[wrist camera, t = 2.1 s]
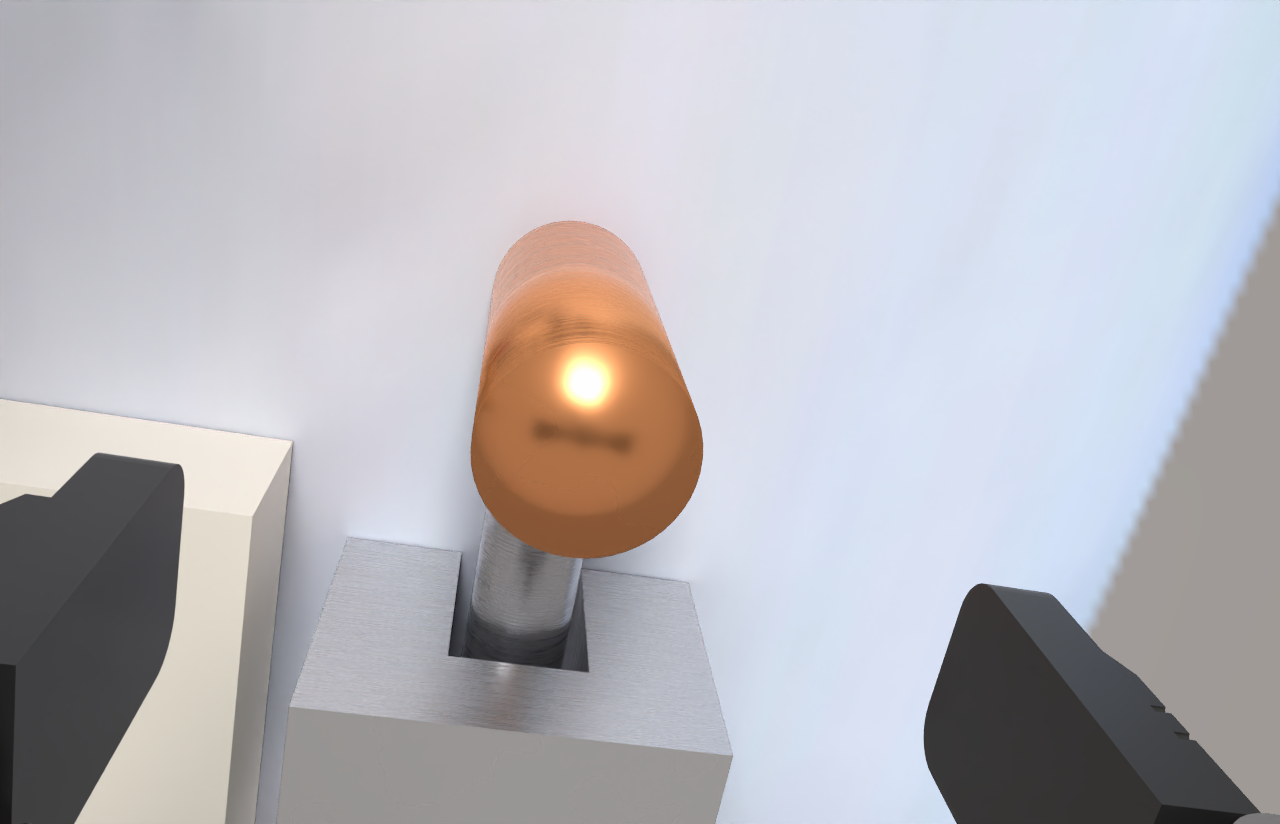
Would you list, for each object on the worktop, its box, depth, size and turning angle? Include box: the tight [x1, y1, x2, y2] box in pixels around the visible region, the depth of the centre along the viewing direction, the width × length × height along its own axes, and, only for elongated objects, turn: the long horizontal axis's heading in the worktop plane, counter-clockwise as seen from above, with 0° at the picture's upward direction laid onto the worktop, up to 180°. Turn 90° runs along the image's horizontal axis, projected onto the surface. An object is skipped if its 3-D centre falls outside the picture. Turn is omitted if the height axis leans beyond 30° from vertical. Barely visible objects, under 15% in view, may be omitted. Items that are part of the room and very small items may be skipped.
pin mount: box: [276, 537, 733, 824], centre depth 22 cm, size 7×6×6 cm
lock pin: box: [462, 221, 703, 669], centre depth 20 cm, size 3×16×8 cm, turn 169°
